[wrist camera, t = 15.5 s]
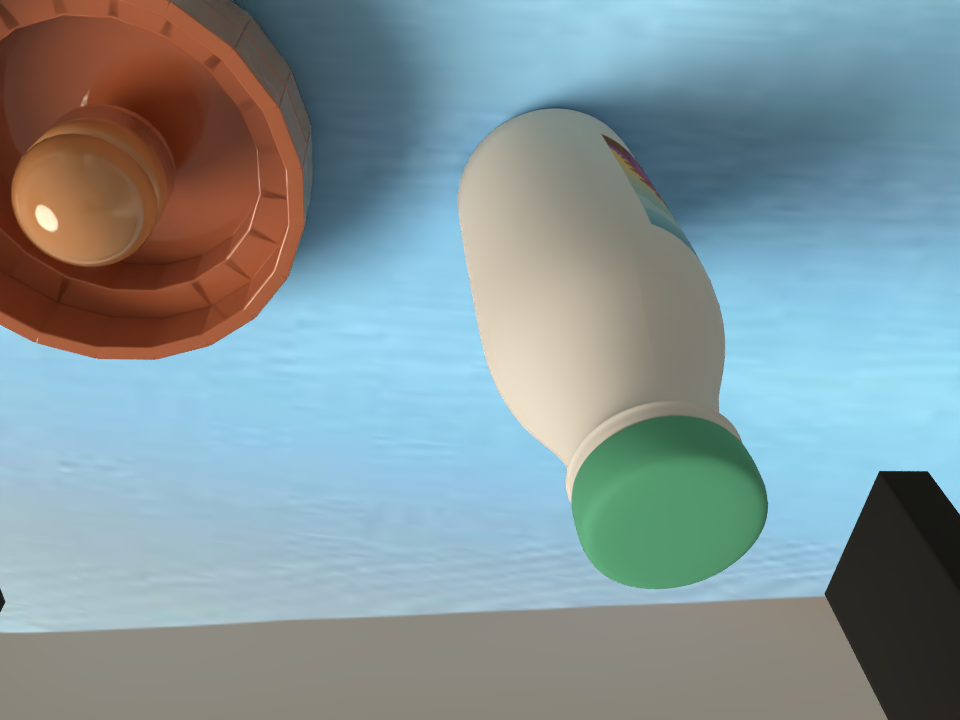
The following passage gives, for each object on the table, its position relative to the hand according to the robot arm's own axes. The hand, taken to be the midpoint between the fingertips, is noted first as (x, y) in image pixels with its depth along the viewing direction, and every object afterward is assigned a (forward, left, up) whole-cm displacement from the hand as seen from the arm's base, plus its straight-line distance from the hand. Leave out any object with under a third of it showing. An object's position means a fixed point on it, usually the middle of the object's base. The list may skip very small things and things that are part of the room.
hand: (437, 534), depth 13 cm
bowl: (+11, -4, -25) cm, 27 cm away
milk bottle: (-2, +8, -25) cm, 26 cm away
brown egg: (+11, -4, -24) cm, 27 cm away
